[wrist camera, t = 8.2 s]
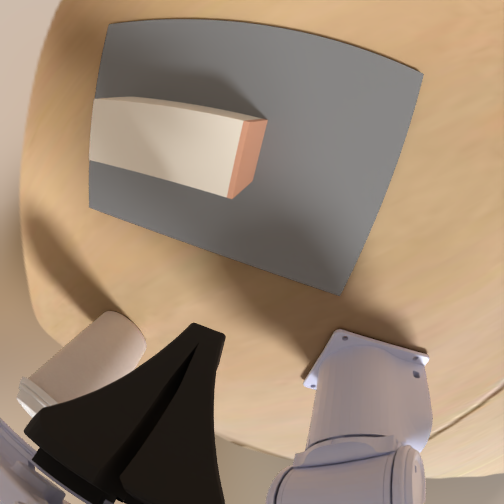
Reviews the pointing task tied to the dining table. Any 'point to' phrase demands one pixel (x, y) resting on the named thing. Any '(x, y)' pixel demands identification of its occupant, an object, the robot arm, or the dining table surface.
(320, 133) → the mat
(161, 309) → the dining table surface
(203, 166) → the block
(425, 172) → the dining table surface
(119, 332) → the coffee cup
